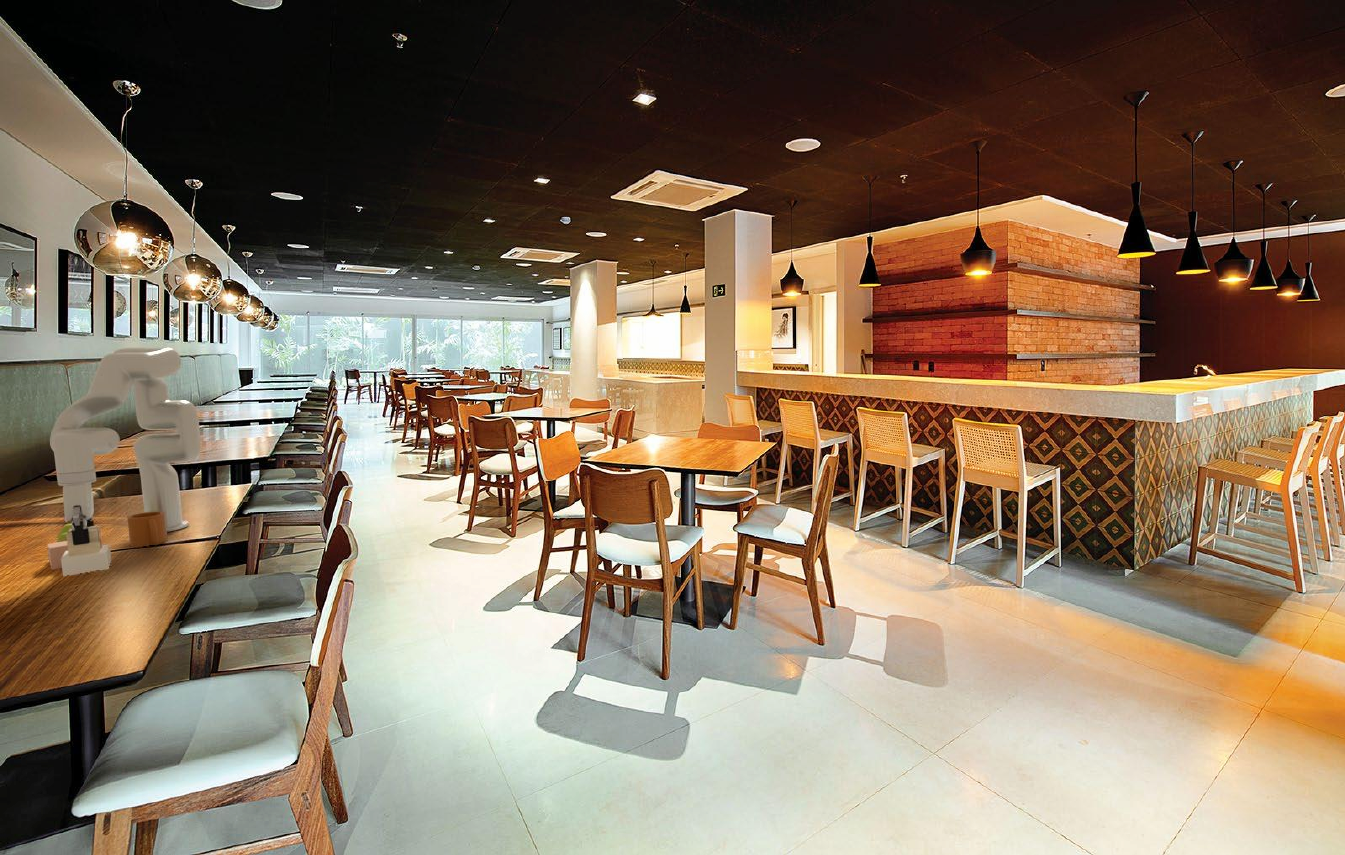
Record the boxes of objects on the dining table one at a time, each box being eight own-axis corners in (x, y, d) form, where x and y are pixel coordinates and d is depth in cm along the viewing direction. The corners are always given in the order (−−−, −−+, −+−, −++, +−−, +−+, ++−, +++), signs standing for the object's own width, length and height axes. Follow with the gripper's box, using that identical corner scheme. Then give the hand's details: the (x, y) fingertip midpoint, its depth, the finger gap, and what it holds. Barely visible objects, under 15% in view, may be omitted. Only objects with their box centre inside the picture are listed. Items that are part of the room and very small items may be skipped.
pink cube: (50, 565, 176) (47, 544, 176) (79, 559, 181) (76, 539, 180) (52, 569, 172) (49, 548, 172) (82, 564, 177) (79, 543, 176)
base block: (67, 568, 174) (65, 550, 173) (111, 561, 179) (109, 544, 179) (63, 577, 167) (61, 559, 166) (108, 570, 172) (106, 552, 172)
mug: (130, 552, 187) (126, 522, 186) (130, 543, 196) (126, 514, 195) (169, 545, 193) (165, 516, 192) (167, 537, 202) (163, 509, 201)
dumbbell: (92, 555, 185) (89, 531, 184) (54, 561, 180) (51, 536, 179) (94, 542, 197) (92, 519, 197) (59, 547, 192) (56, 524, 191)
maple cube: (72, 550, 173) (69, 529, 173) (101, 546, 177) (99, 525, 176) (68, 556, 169) (66, 534, 168) (99, 551, 172) (96, 530, 171)
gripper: (63, 474, 175) (71, 534, 177) (51, 484, 161) (59, 550, 163) (99, 471, 179) (106, 530, 182) (91, 481, 166) (98, 545, 168)
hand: (84, 539), depth 172 cm, fingers open, 9 cm apart
